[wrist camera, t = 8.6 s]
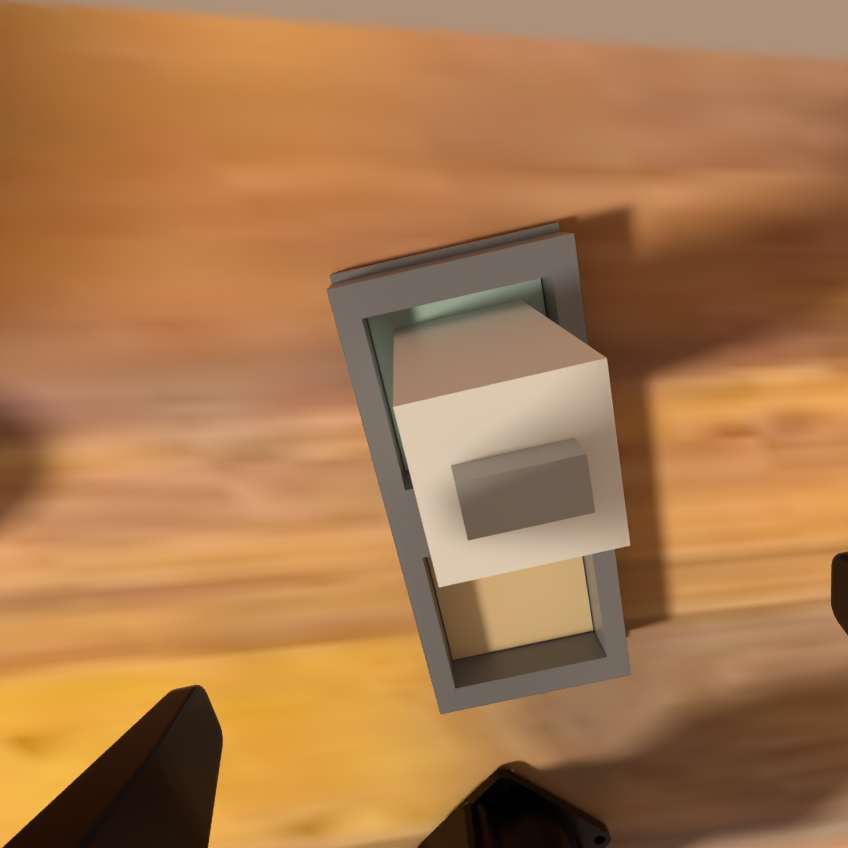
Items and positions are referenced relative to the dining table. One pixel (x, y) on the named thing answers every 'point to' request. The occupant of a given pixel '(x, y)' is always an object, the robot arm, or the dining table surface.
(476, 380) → the plug
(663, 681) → the dining table surface
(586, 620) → the socket panel
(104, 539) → the dining table surface
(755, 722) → the dining table surface
